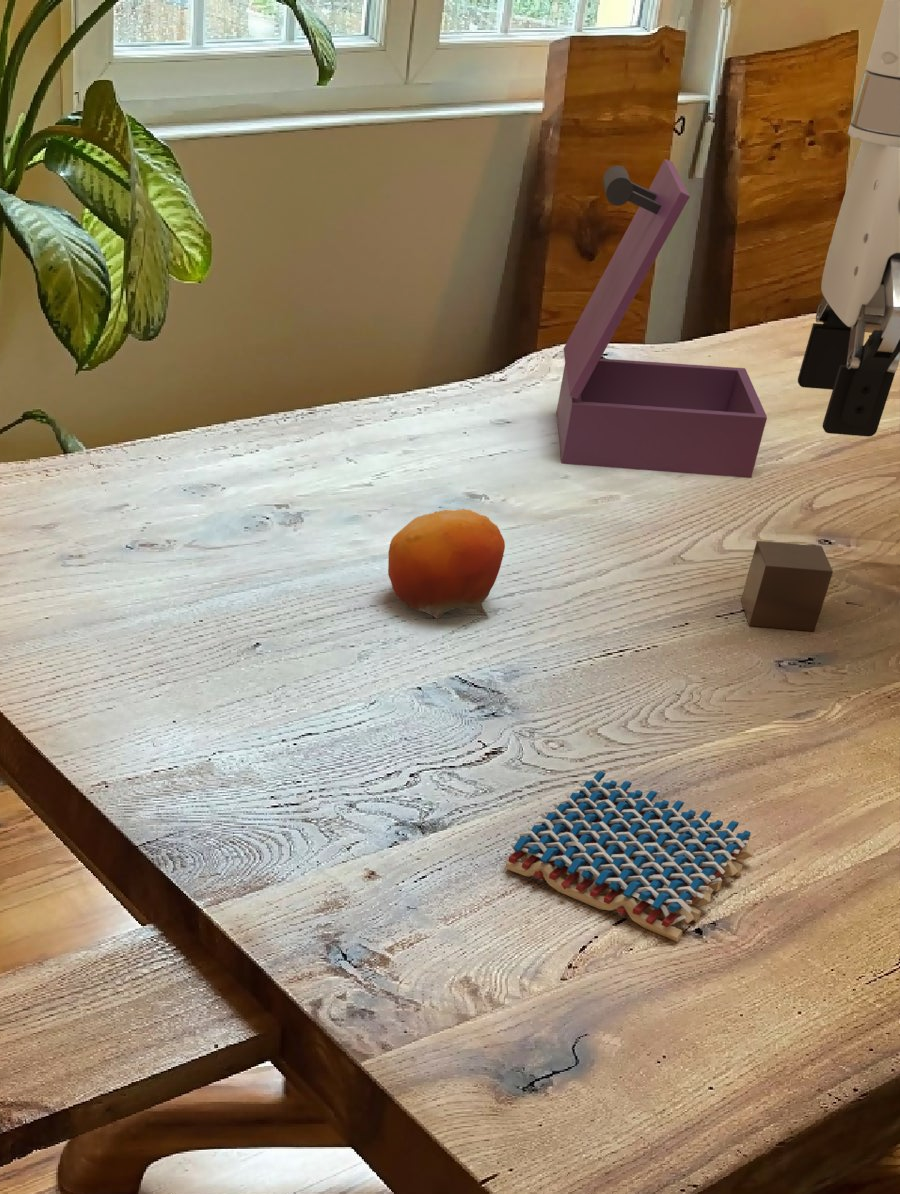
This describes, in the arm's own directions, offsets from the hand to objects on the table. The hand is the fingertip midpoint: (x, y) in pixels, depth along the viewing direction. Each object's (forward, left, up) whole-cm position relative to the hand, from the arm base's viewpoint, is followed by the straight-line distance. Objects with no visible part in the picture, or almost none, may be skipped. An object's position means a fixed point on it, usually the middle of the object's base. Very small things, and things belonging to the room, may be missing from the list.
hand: (833, 409), depth 97 cm
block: (0, 0, -15) cm, 15 cm away
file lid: (+11, -30, 0) cm, 32 cm away
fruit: (+24, +3, -15) cm, 28 cm away
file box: (+7, -30, -15) cm, 34 cm away
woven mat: (+13, +35, -15) cm, 40 cm away
